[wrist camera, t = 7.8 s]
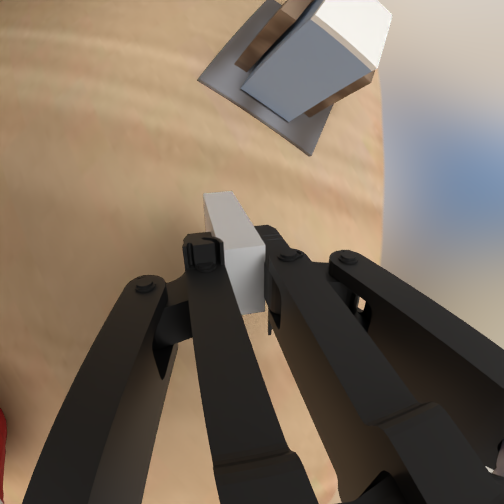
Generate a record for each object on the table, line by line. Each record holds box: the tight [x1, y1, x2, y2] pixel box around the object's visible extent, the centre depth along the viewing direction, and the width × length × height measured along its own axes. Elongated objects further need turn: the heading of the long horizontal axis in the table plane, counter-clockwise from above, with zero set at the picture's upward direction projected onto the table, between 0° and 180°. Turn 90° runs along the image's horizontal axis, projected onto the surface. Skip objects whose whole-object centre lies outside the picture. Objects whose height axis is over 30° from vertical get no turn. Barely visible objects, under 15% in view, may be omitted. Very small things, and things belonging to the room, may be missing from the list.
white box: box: [241, 0, 392, 122], centre depth 24 cm, size 6×10×13 cm, turn 153°
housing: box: [197, 0, 375, 156], centre depth 27 cm, size 14×18×10 cm
